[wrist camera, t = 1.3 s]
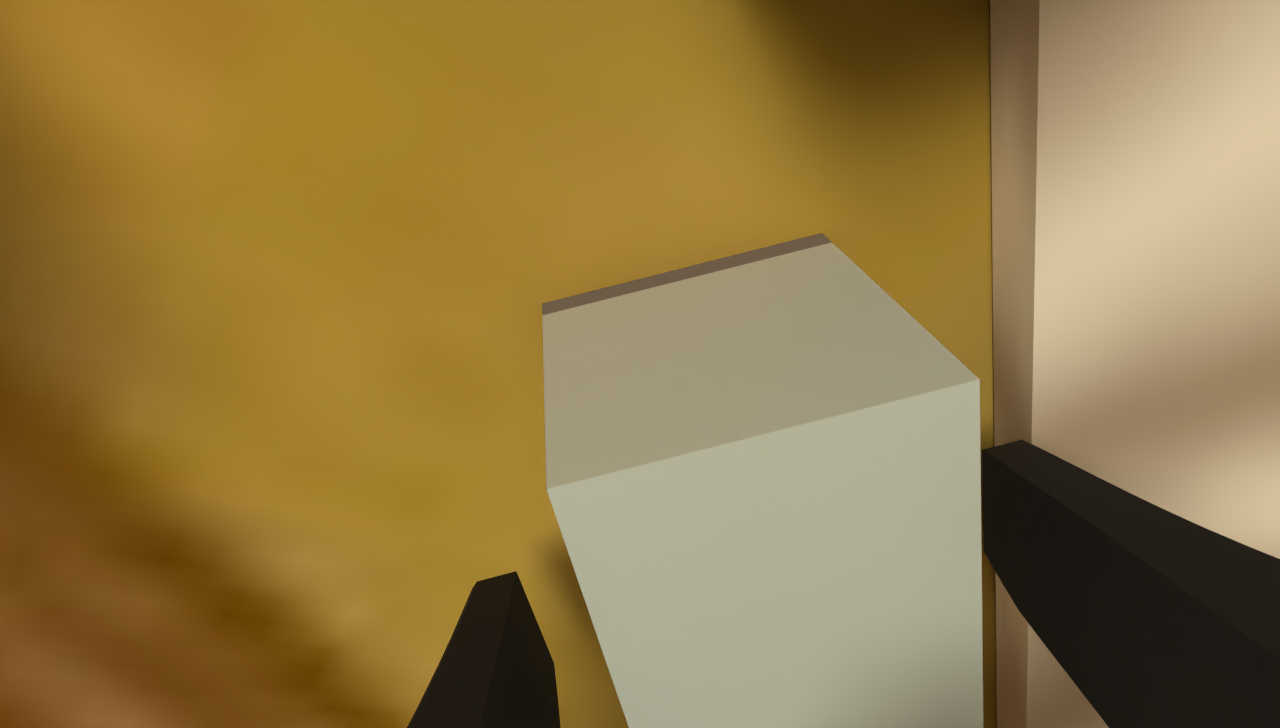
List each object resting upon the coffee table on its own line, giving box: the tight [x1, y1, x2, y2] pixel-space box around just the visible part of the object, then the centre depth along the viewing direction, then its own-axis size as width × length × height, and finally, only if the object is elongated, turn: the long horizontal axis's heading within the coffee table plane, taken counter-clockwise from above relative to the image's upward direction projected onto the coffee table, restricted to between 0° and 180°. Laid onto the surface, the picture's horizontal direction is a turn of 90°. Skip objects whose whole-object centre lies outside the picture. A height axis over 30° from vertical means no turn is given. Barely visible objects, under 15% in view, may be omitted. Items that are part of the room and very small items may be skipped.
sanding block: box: [542, 233, 983, 728], centre depth 12 cm, size 8×4×5 cm, turn 13°
